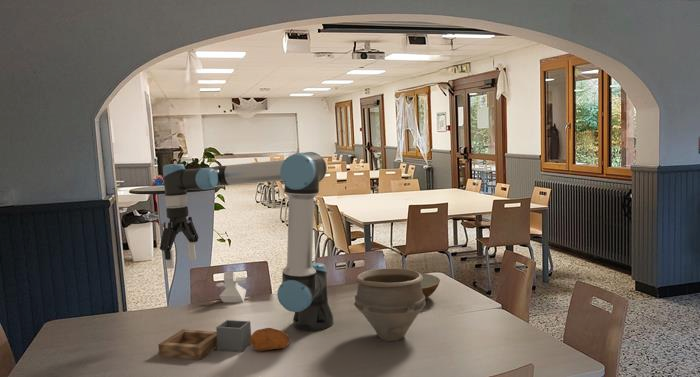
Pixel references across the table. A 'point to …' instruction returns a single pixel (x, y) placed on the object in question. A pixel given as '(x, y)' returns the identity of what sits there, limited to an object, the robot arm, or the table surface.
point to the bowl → (429, 284)
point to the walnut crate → (189, 344)
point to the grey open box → (233, 335)
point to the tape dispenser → (232, 288)
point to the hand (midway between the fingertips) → (181, 263)
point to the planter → (390, 300)
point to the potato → (269, 339)
